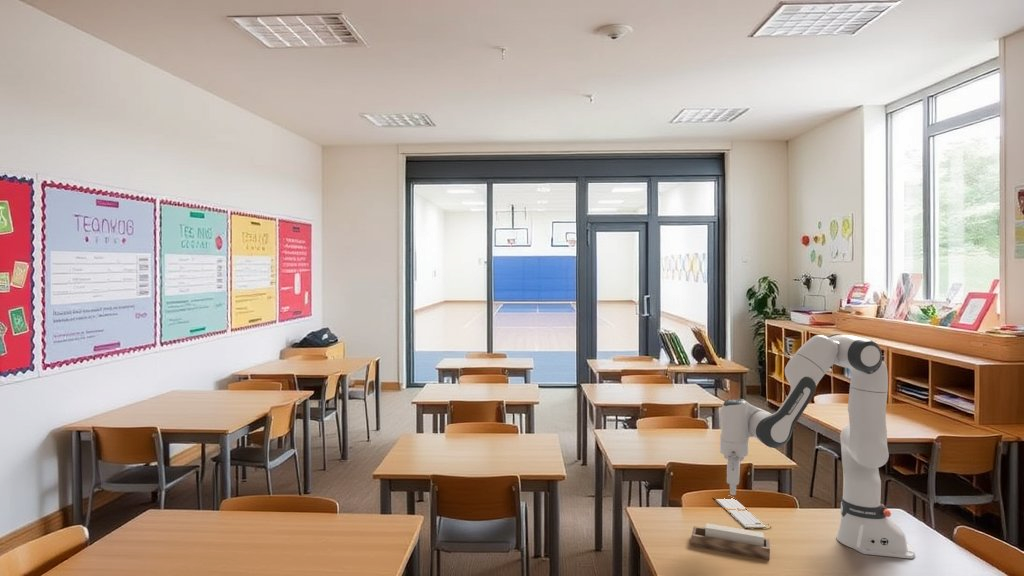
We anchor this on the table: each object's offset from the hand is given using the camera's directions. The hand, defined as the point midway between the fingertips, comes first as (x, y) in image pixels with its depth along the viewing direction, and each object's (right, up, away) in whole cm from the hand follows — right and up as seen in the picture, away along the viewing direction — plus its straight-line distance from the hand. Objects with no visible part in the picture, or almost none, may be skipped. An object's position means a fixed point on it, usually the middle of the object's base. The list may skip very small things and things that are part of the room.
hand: (733, 489), depth 197 cm
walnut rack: (-1, -19, -1) cm, 19 cm away
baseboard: (+14, -20, +30) cm, 38 cm away
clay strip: (0, -17, -1) cm, 17 cm away
